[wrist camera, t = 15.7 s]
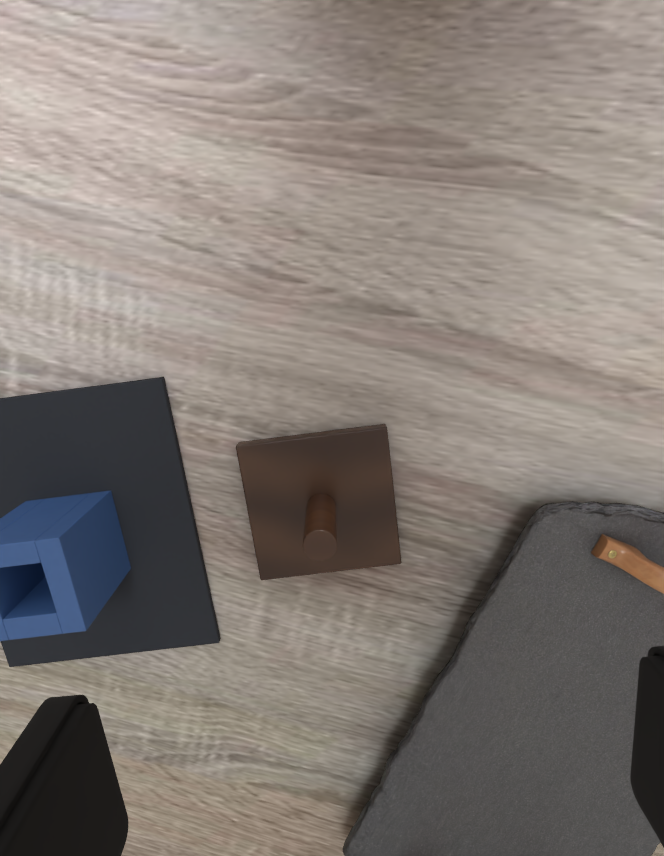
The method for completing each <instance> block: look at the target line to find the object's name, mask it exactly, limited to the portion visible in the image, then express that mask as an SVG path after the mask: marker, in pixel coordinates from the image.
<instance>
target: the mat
mask: <svg viewBox="0 0 664 856" xmlns="http://www.w3.org/2000/svg"><path fill="white" fill-rule="evenodd" d="M110 490H111V492H112V496H113V500H114V504H115V508H116V511H117V515H118V519H119V523H120V527H121V531H122V535H123V539H124V543H125V546H126V550H127V554H128V558H129V562H130V566H131V569H130V571H129V572H128V573H127V575H126V576H125V578H124V579H123V580H122V582H121V583H120V585H119V586H118V587H117V589H116V590H115V592H114V593H113V594H112V596H111V597H110V598H109V600H108V601H107V603H106V604H105V605H104V607H103V608H102V610H101V611H100V612H99V614H98V615H97V617H96V618H95V619H94V621H93V622H92V624H91V625H90V626H89V628H88V629H87V630H86V631H82V632H73V633H65V634H56V635H48V636H39V637H31V638H22V639H14V640H5V641H1V643H2V646H3V649H4V652H5V655H6V658H7V661H8V664H9V667H14V666H23V665H31V664H40V663H48V662H57V661H66V660H74V659H83V658H91V657H100V656H109V655H117V654H126V653H135V652H143V651H152V650H160V649H169V648H178V647H186V646H195V645H204V644H212V643H219V641H220V635H219V630H218V625H217V621H216V616H215V612H214V607H213V602H212V598H211V593H210V588H209V584H208V579H207V574H206V570H205V565H204V561H203V556H202V551H201V547H200V542H199V537H198V533H197V528H196V523H195V519H194V514H193V510H192V505H191V500H190V496H189V491H188V486H187V482H186V477H185V473H184V468H183V463H182V459H181V454H180V449H179V445H178V440H177V435H176V431H175V426H174V422H173V417H172V412H171V408H170V403H169V398H168V394H167V389H166V385H165V380H164V377H160V378H152V379H145V380H137V381H130V382H122V383H114V384H107V385H99V386H91V387H84V388H76V389H69V390H61V391H53V392H46V393H38V394H30V395H23V396H15V397H8V398H0V518H2V517H3V516H5V515H6V514H8V513H9V512H11V511H12V510H13V509H15V508H16V507H18V506H19V505H21V504H22V503H24V502H25V501H30V500H38V499H47V498H55V497H63V496H71V495H79V494H87V493H94V492H102V491H110Z"/></svg>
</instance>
